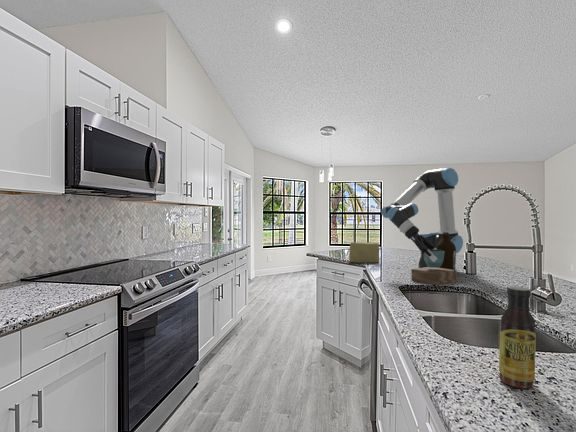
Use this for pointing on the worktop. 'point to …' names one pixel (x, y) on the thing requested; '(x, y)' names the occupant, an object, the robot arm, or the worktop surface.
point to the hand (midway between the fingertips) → (439, 259)
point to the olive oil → (447, 252)
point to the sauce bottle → (517, 340)
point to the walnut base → (434, 275)
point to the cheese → (364, 252)
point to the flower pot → (438, 262)
